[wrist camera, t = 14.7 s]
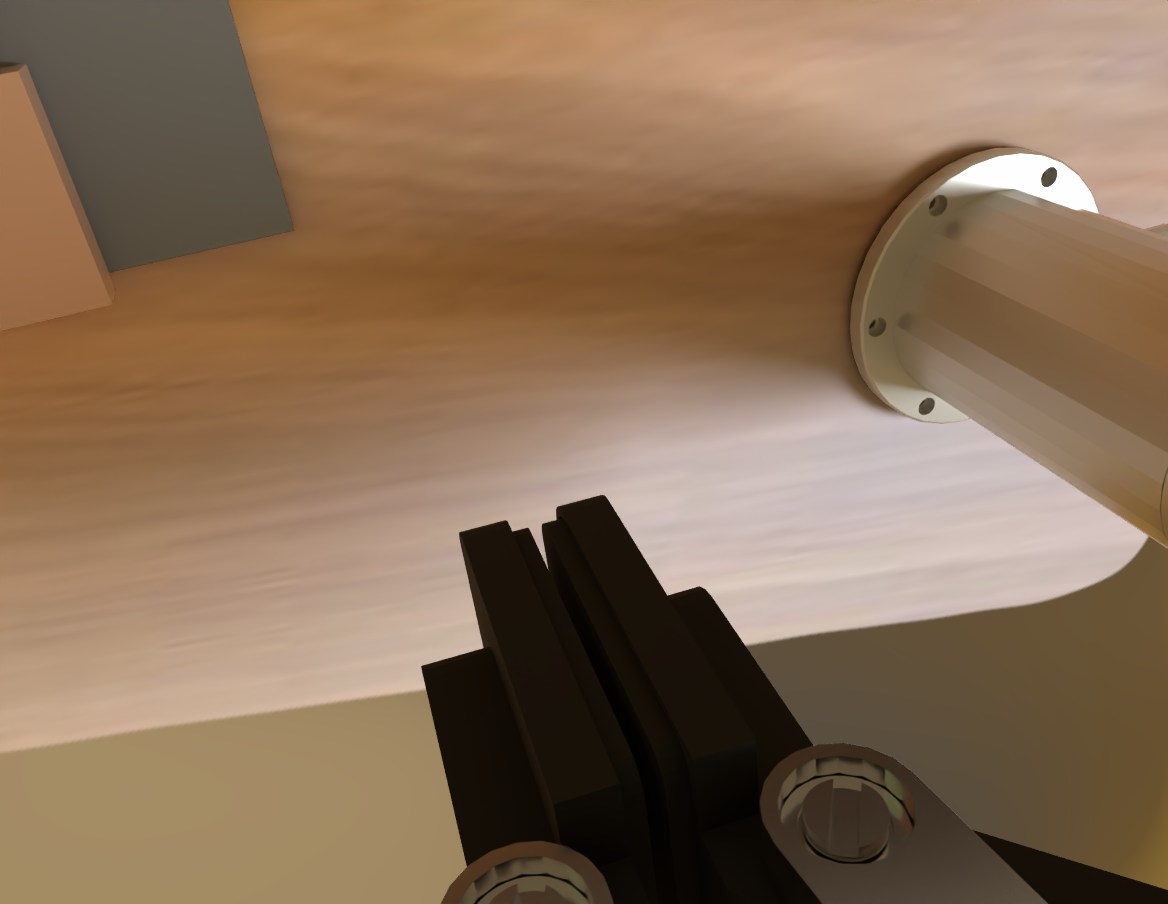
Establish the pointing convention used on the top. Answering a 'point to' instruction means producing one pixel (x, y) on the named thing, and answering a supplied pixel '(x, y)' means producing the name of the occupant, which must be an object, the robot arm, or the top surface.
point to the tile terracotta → (41, 218)
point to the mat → (151, 122)
